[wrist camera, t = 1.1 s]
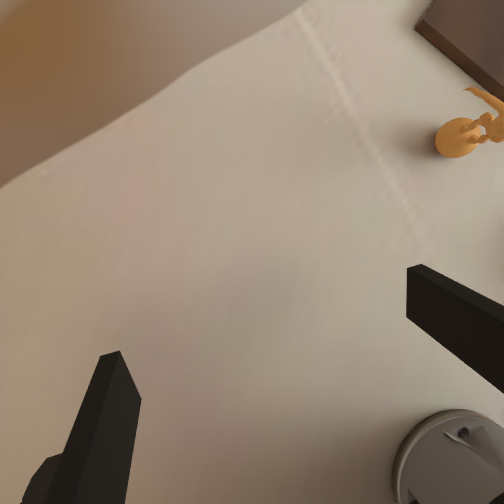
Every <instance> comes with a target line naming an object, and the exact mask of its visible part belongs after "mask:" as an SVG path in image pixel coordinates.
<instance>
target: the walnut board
mask: <svg viewBox="0 0 504 504" xmlns="http://www.w3.org/2000/svg"><path fill="white" fill-rule="evenodd" d="M415 30H417V31H418V32H419V33H420V34H421V35H423V36H424V37H425V38H426V39H427V40H429V41H430V42H431V43H432V44H433V45H434V46H436V47H437V48H438V49H439V50H440V51H442V52H443V53H444V54H445V55H446V56H448V57H449V58H450V59H451V60H452V61H454V62H455V63H456V64H457V65H458V66H459V67H461V68H462V69H463V70H464V71H465V72H467V73H468V74H469V75H470V76H471V77H473V78H474V79H475V80H476V81H477V82H478V83H480V84H481V85H482V86H483V87H484V88H486V89H487V90H488V91H489V92H490V93H492V94H493V95H494V96H495V97H496V98H498V99H499V100H500V101H502V102H503V103H504V0H434V1H433V2H432V4H431V5H430V6H429V8H428V9H427V11H426V12H425V14H424V15H423V16H422V18H421V19H420V21H419V22H418V24H417V25H416V26H415Z"/></svg>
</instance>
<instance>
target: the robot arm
mask: <svg viewBox="0 0 504 504" xmlns="http://www.w3.org/2000/svg"><path fill="white" fill-rule="evenodd" d="M406 317H407V318H408V319H409V320H411V321H412V322H413V323H415V324H416V325H417V326H418V327H420V328H421V329H422V330H423V331H425V332H426V333H427V334H429V335H430V336H431V337H432V338H434V339H435V340H436V341H437V342H439V343H440V344H441V345H443V346H444V347H445V348H446V349H448V350H449V351H450V352H451V353H453V354H454V355H455V356H457V357H458V358H459V359H460V360H462V361H463V362H464V363H465V364H467V365H468V366H469V367H471V368H472V369H473V370H474V371H476V372H477V373H478V374H479V375H481V376H482V377H483V378H485V379H486V380H487V381H488V382H490V383H491V384H492V385H493V386H495V387H496V388H497V389H499V390H500V391H501V392H502V393H504V306H503V305H501V304H499V303H497V302H495V301H493V300H491V299H489V298H487V297H485V296H483V295H481V294H479V293H477V292H475V291H473V290H472V289H470V288H468V287H466V286H464V285H462V284H460V283H458V282H456V281H454V280H452V279H450V278H448V277H446V276H444V275H442V274H440V273H438V272H436V271H434V270H432V269H431V268H429V267H427V266H425V265H423V264H420V265H416V266H413V267H409V268H407V301H406ZM141 400H142V399H141V397H140V395H139V392H138V390H137V388H136V386H135V383H134V381H133V379H132V377H131V375H130V372H129V370H128V368H127V366H126V364H125V361H124V359H123V357H122V355H121V352H120V351H116V352H113V353H109V354H106V355H102V356H100V358H99V361H98V363H97V366H96V368H95V371H94V374H93V376H92V379H91V381H90V384H89V386H88V389H87V392H86V394H85V397H84V399H83V402H82V404H81V407H80V410H79V412H78V415H77V417H76V420H75V423H74V425H73V428H72V430H71V433H70V435H69V438H68V441H67V443H66V446H65V448H64V451H63V453H61V454H58V455H55V456H52V457H49V458H46V460H45V461H44V462H43V464H42V465H41V466H40V468H39V469H38V470H37V471H36V473H35V474H34V475H33V477H32V478H31V480H30V482H29V485H28V487H27V489H26V491H25V493H24V496H23V498H22V503H20V504H125V498H126V492H127V486H128V479H129V473H130V467H131V461H132V455H133V449H134V443H135V437H136V430H137V424H138V418H139V412H140V406H141ZM392 484H393V491H394V496H395V499H396V502H397V504H504V429H503V428H502V427H501V426H499V425H498V424H496V423H495V422H493V421H492V420H490V419H489V418H487V417H485V416H483V415H481V414H479V413H476V412H472V411H466V410H451V411H446V412H442V413H439V414H436V415H434V416H432V417H430V418H428V419H426V420H425V421H423V422H422V423H420V424H419V425H418V426H417V427H416V428H415V429H414V430H413V431H412V432H411V433H410V434H409V435H408V436H407V438H406V439H405V440H404V442H403V444H402V445H401V447H400V449H399V451H398V454H397V456H396V459H395V463H394V467H393V475H392Z"/></svg>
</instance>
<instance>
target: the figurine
mask: <svg viewBox="0 0 504 504" xmlns="http://www.w3.org/2000/svg"><path fill="white" fill-rule="evenodd" d="M464 90H469V91H471V92H472V93H473V94H474V95H476V96H478V97H480V98H483V100H484V101H485V102H487V103H488V104H489V105H490V106H491V107H493V108H494V109H496V110H497V111H498V113H499V116H498V117H497V118H496V119H495V118H494V116H493V114H490V113H488V112H487V113H484V114H483V115H481V116H480V118H479V119H477V120H475V121H473V120H471V119H468V118H456V119H453V120H451V121H449V122H447V123H446V124H444V125H443V126H442V127H441V128H440V130H439V131H438V133H437V135H436V138H435V145H436V148H437V150H438V152H439V153H440V154H442V155H443V156H445V157H449V158H458V157H462V156H465V155H467V154H468V153H470V152H471V151H472V150H473V149H474V148H475V147H476V146H477V144H478V143H484V142H486V141H488V140H489V138H490V141H493V142H496V143H498V142H502V141H504V103H503V102H502V101H500V100H499V99H498V98H496V97H494V96H493V95H491V94H489V93H487V92H483V91H482V90H480V89H478V88H474V87H469V88H466V89H464ZM464 90H463V91H464ZM479 125H481V126H483V127H485V128H486V133H487V134H486V135H482V136H481V131H480V128H479Z"/></svg>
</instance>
